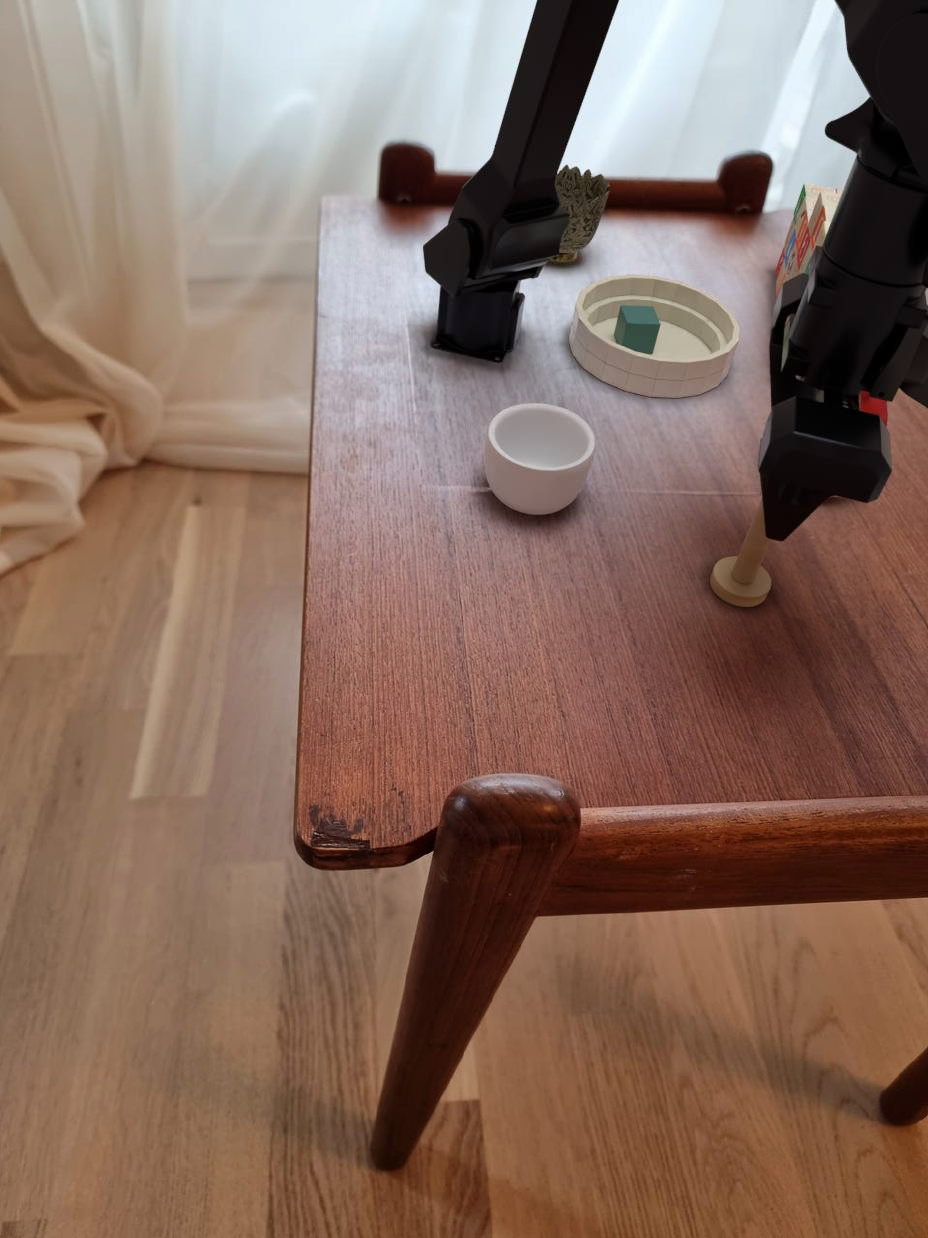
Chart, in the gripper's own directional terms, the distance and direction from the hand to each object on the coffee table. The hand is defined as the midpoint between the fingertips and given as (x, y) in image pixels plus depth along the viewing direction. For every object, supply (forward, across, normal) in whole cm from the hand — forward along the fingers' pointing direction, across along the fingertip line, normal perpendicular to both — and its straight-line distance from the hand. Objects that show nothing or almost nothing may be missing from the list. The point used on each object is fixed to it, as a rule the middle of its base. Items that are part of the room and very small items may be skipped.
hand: (777, 492), depth 62 cm
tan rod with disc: (+8, 0, 0) cm, 8 cm away
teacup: (+9, +5, +16) cm, 19 cm away
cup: (+9, +41, +21) cm, 47 cm away
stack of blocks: (+9, +38, -4) cm, 39 cm away
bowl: (+8, +27, +10) cm, 30 cm away
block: (+8, +27, +12) cm, 31 cm away
